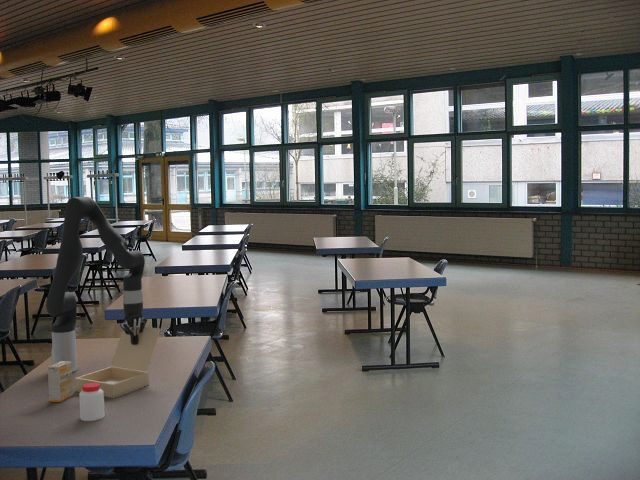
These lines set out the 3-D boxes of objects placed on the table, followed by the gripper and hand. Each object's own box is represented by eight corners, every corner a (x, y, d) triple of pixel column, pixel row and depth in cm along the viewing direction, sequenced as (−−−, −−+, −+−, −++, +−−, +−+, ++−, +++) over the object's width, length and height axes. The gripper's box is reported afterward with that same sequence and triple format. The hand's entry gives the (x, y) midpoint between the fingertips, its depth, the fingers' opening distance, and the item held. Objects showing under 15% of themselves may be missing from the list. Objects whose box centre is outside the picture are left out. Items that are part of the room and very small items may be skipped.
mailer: (75, 391, 254) (75, 378, 254) (111, 378, 270) (111, 366, 269) (113, 398, 244) (113, 384, 244) (148, 385, 260) (148, 372, 259)
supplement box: (60, 402, 240) (59, 366, 239) (48, 402, 241) (46, 366, 240) (73, 395, 248) (72, 360, 247) (62, 395, 249) (60, 360, 248)
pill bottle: (83, 413, 228) (82, 382, 227) (107, 412, 228) (105, 381, 227) (77, 421, 220) (75, 388, 219) (101, 420, 221) (100, 387, 220)
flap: (124, 324, 275) (125, 325, 275) (110, 365, 268) (112, 366, 269) (159, 328, 265) (161, 329, 266) (146, 371, 259) (147, 371, 260)
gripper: (138, 298, 273) (139, 340, 274) (113, 303, 261) (115, 346, 263) (152, 299, 269) (153, 342, 270) (127, 304, 258) (129, 348, 259)
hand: (134, 344), depth 267 cm, fingers closed
